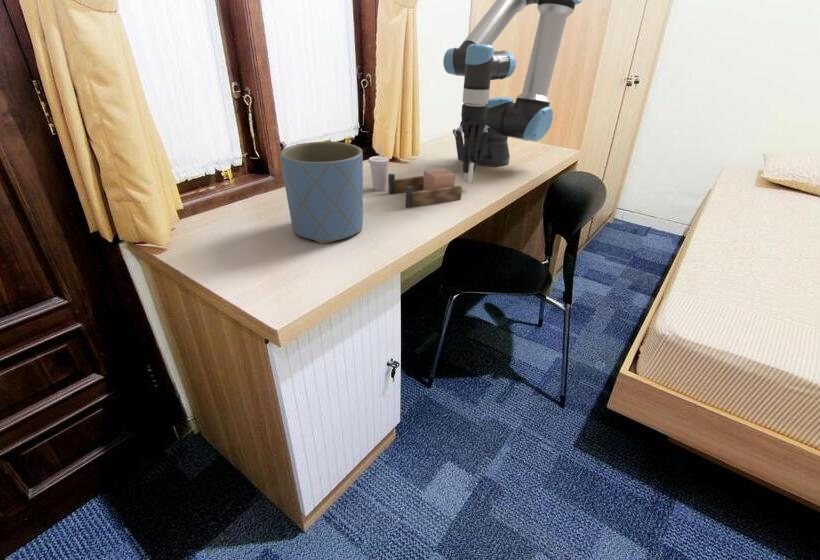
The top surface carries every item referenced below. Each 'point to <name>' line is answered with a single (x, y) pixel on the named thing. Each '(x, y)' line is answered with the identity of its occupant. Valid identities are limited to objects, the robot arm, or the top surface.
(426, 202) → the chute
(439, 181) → the block
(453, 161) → the top surface
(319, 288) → the top surface
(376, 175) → the smoothie
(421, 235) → the top surface
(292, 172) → the planter
